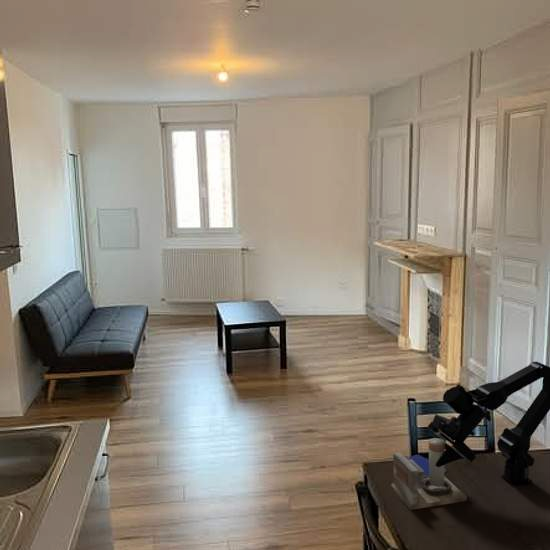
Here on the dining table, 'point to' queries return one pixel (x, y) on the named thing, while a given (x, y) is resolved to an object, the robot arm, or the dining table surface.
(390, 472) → the dining table surface
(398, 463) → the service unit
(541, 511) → the dining table surface
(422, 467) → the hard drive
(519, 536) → the dining table surface
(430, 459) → the cartridge
